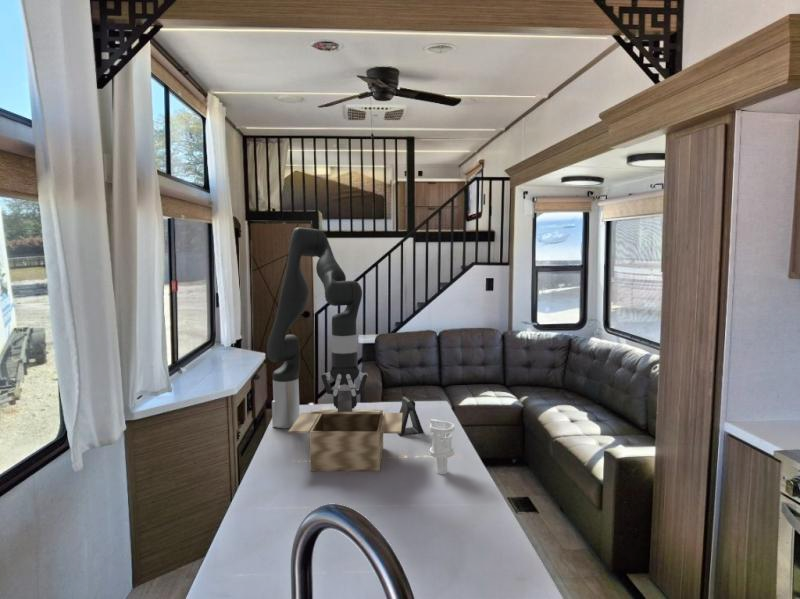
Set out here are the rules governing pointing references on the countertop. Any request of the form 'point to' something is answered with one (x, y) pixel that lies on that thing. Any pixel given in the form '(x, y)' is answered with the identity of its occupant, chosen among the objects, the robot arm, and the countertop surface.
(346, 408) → the lid flap
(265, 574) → the countertop surface
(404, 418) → the phone stand
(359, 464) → the carton
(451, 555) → the countertop surface
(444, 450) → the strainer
